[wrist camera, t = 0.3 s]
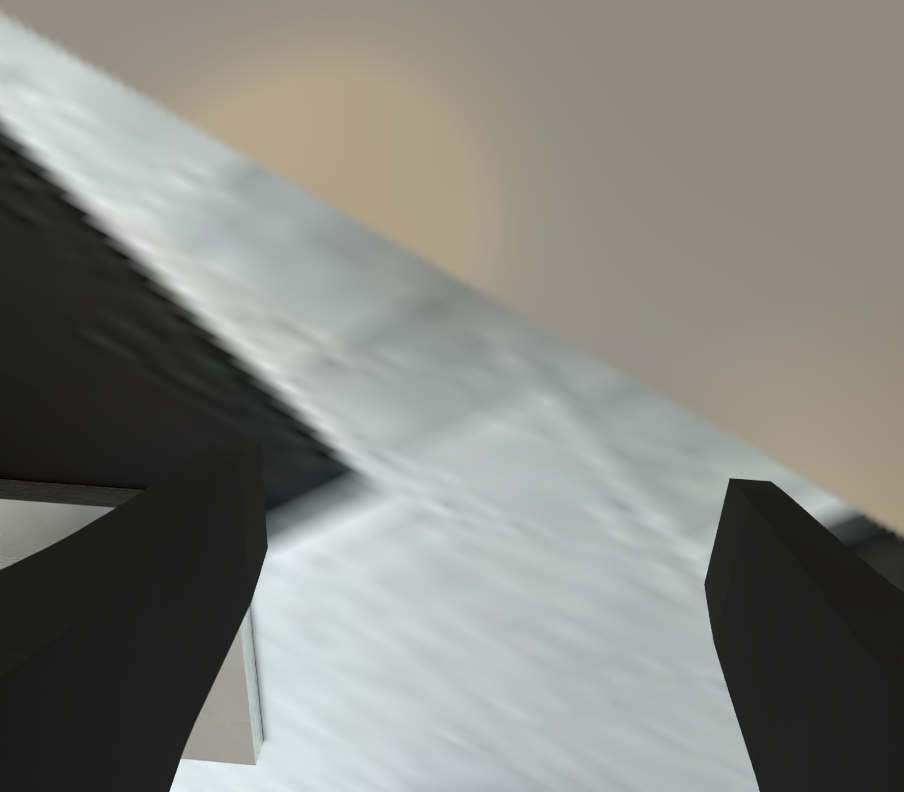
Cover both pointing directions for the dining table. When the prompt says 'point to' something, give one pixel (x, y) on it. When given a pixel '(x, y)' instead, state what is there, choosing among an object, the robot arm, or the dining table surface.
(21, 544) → the stand
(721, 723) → the dining table surface
